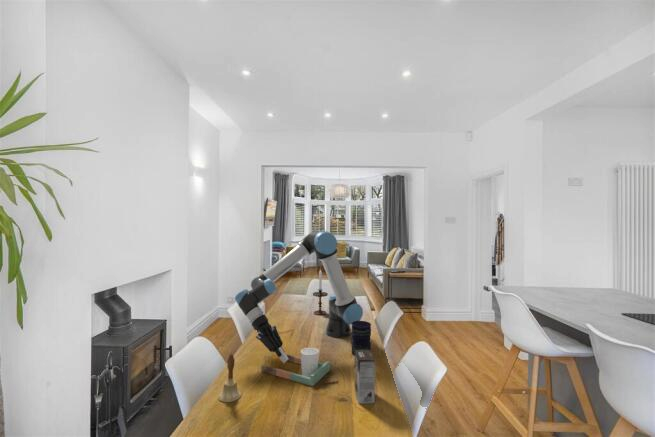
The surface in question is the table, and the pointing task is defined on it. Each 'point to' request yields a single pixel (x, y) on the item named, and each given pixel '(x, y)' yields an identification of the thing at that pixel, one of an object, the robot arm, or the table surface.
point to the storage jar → (361, 336)
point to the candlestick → (320, 295)
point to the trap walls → (285, 373)
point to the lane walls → (273, 370)
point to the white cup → (309, 361)
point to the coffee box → (364, 376)
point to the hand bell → (230, 385)
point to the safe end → (313, 378)
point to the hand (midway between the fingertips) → (286, 361)
